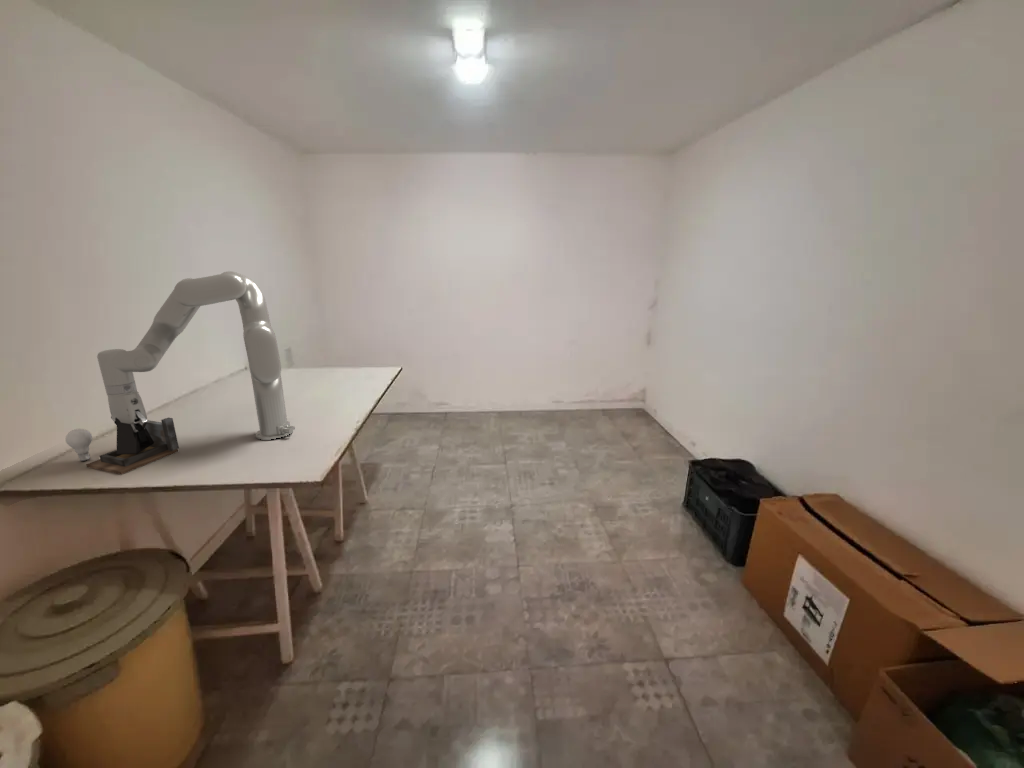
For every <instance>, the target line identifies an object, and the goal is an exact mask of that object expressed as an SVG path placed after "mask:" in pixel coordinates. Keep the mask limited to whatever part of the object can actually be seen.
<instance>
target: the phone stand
mask: <svg viewBox="0 0 1024 768" xmlns="http://www.w3.org/2000/svg"><path fill="white" fill-rule="evenodd" d="M115 421H116V424H117V425H116V424H115V425H116V450H117V455H125V454H138V453H140V452H141V451H143V450H144V449H145V448H148V447H149V446H151V445H152V444H154V441H153V439H152V438H151V436H150V434H149V432H148V431H147V429H146V427H145V434H146V438H147V440H146V441H144V442H142V443H139V440H138V436H137V433H136V439H135V437H134V435H133V432H134V430H133V428H132V426H131V424H127V423H121V422H120V420H119V419H117V418H115ZM134 421H135V422H137V421H138V420H136V419H135V420H134ZM135 425H136V427H137V426H138V425H139V423H137V424H135Z"/></svg>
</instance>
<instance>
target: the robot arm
mask: <svg viewBox="0 0 1024 768" xmlns="http://www.w3.org/2000/svg"><path fill="white" fill-rule="evenodd" d="M233 300H235V301H236V302H237V305H238V310H239V314H240V317H241V322H242V329H243V335H242V336H243V341H244V346H245V351H246V357H247V362H248V367H249V372H250V378H251V379H250V380H251V385H252V390H253V391H252V392H253V396H254V403H255V410H256V416H257V421H258V426H259V427H258V428H259V429H258V431H256V433H255V438H256V439H257V440H260V439H261V440H262V441H272V440H271V439H274V440H277V439H276V438H280V439H282V438H281V437H283V438H285V437H284V436H286V435H288V436H290V435H292V434H291V433H294V431H295V429H296V427H295V425H294V426H293V425H291V424H290V422H291V421H289V420H288V418H287V416H288V415H287V410H286V409H287V408H286V403H285V402H286V401H285V395H284V388H283V381H282V375H281V374H282V365H281V364H282V363H281V359H280V352H279V347H278V343H277V336H276V334H275V332H274V330H273V327H272V324H271V319H270V314H269V311H268V307H267V302H266V298H265V296H264V293H263V292H262V290H261V289H260V287H259V286H258V285H257V284H256V283H255V282H254V281H253V280H252V279H251V278H249V277H248V276H246V275H244V274H241V273H238V272H235V271H230V270H228V271H224V272H222V273H220V274H213V275H209V276H203V277H198V278H197V277H196V278H191V277H190V278H184V279H181V280H180V281H178V282H177V283H176V284H175V285H174V289H172V291H171V293H170V294H169V295H168V297H167V298H166V300H165V301H164V303H162V305H161V307H160V308H159V310H158V311H157V312H156V314H155V316H154V317H153V321H152V324H151V326H150V327H149V329H148V330H147V331H146V333H145V334H144V336H143V337H142V339H141V340H140V342H139V343H138V344H137V346H136V347H135V348H134V349H132V350H126V349H122V348H114V349H105V350H102V351H100V352H98V353H97V356H96V357H97V363H98V366H99V369H100V374H101V378H102V381H103V385H104V386H103V387H104V389H105V393H106V396H107V403H108V407H109V412H110V419H111V420H112V421H113V423H114V424H115V425H116V426H117V424H116V421H115V418H117V419H119V420H120V422H121V423H127V424H131V426H132V428H133V430H134V432H133V435H134V437H135V439H136V433H137V436H138V440H139V443H142V442H144V441H146V440H147V438H146V434H145V426H146V424H147V420H148V415H147V412H146V408H145V405H144V403H143V400H142V397H141V395H140V393H139V392H138V389H137V385H136V380H135V376H134V373H147V372H151V371H153V370H154V369H156V368H157V366H158V364H159V363H160V362H161V360H162V359H163V357H164V355H165V354H166V353H167V351H168V349H169V348H170V347H171V345H172V344H173V343H174V341H175V339H176V338H177V337H178V336H180V334H182V333H183V332H184V330H185V329H186V327H187V326H188V325H189V324H190V322H191V320H192V319H193V317H194V316H195V314H196V313H197V312H198V310H200V308H201V307H202V306H208V305H213V304H217V303H219V304H220V303H224V302H228V301H229V302H230V301H233ZM135 419H136V420H138V421H137V422H135V421H134V420H135ZM137 423H139V425H138V426H137V427H136V425H135V424H137ZM289 434H290V435H289ZM286 437H287V436H286Z"/></svg>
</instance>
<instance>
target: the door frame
mask: <svg viewBox="0 0 1024 768" xmlns="http://www.w3.org/2000/svg"><path fill="white" fill-rule="evenodd" d="M146 420H147V424H146V426H145V427H146V429H147V431H148V432H149V434H150V436H151V438H152V439H153V441H154V444H152V445H151V446H149V447H148V448H145V449H144V450H143V451H141V452H140V453H138V454H125V455H117V449H114V450H112V451H109V452H107V453H103V454H101V455H99V459H97V460H94V461H91V462H89V463H86V468H89V469H95V470H99V471H103V472H108V473H112V474H116V475H120V476H121V475H124V474H127V473H129V472H131V471H133V470H137V469H139V468H141V467H144V466H146V465H149V464H151V463H153V462H154V463H155V462H156V461H158V460H162V459H164V458H166V457H168V456H171V455H173V454H176V453H178V451H179V449H180V446H179V443H178V442H179V441H178V437H177V433H176V428H175V424H174V419H173V418H172V417H166V418H162V419H160V421H157V420H156V421H155V420H149V419H146Z"/></svg>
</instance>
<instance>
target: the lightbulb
mask: <svg viewBox="0 0 1024 768" xmlns="http://www.w3.org/2000/svg"><path fill="white" fill-rule="evenodd" d="M92 441H93V435H92V433H91V432H90V431H89V430H88V429H85V428H75V429H72V430H70V431H68V433H67V434H66V436H65V443H66V444H67V446H69V447H70V448H71V449H73V450H74V452H75V453H76V454H77V456H78V459H79V461H81V462H86V460H87V461H89V460H90V459H91V457H90V452H89V451H90V445H91V443H92Z"/></svg>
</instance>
